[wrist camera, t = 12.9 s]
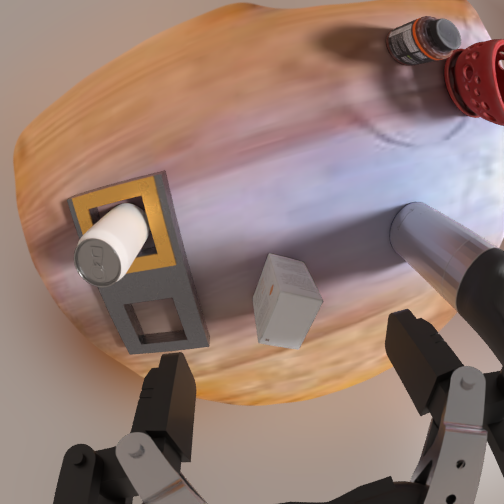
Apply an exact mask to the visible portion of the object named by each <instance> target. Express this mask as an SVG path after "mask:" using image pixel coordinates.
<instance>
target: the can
mask: <svg viewBox="0 0 504 504" xmlns="http://www.w3.org/2000/svg"><path fill="white" fill-rule="evenodd" d="M149 233H150V225H149V222H148V218H147V215H146V213H145V212H144V211H143V210H142V209H141V208H140V207H138V206H136V205H134V204H130V203H124V204H120V205H118V206H116V207H114V208H113V209H112V210H111V211H109V212H108V213H107V214H106V215H105V216H104V217H102V218H101V219H100V220H99V221H98V222H97V223H96V224H94V225H93V226H92V227H91V228H90V229H89V230H88V231H87V232H86V233H85V234H84V235H83V236H82V237H81V238H80V240H79V242H78V245H77V247H76V250H75V253H74V263H75V267H76V269H77V271H78V273H79V275H80V276H81V277H82V278H83V279H84V280H85V281H86V282H88V283H89V284H91V285H93V286H96V287H108V286H111V285H113V284H114V283H115V282H117V281H119V280H120V279H121V278H122V277H123V276H124V275H125V274H126V272H127V271H128V269H129V268H130V266H131V264H132V263H133V261H134V259H135V258H136V256H137V255H138V253H139V251H140V250H141V248H142V246H143V245H144V243H145V241H146V240H147V238H148V236H149Z"/></svg>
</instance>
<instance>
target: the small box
mask: <svg viewBox="0 0 504 504" xmlns="http://www.w3.org/2000/svg"><path fill="white" fill-rule="evenodd" d="M252 299H253V307H254V315H255V322H256V329H257V336H258V343H261V344H266V345H272V346H278V347H285V348H291V349H299V348H300V347H301V345H302V343H303V341H304V339H305V337H306V335H307V333H308V331H309V329H310V327H311V325H312V323H313V321H314V319H315V317H316V315H317V313H318V311H319V309H320V307H321V305H322V303H323V299H322V297H321V295H320V293H319V291H318V289H317V287H316V285H315V283H314V281H313V279H312V277H311V275H310V273H309V271H308V270H307V268H306V266H305V264H304V262H302V261H298V260H294V259H291V258H287V257H283V256H279V255H275V254H271V253H269V254H268V256H267V259H266V262H265V265H264V268H263V271H262V273H261V276H260V279H259V282H258V285H257V287H256V290H255V293H254V296H253V298H252Z"/></svg>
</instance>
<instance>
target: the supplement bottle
mask: <svg viewBox="0 0 504 504" xmlns="http://www.w3.org/2000/svg"><path fill="white" fill-rule="evenodd" d="M386 44H387V48H388V50H389V52H390V54H391V56H392V57H393V58H394V59H395V60H396V61H398V62H399V63H401V64H403V65H416V64H421V63H426V62H432V61H438V60H443V59H446V58H448V57H450V56H451V54H452V53H453V50H455V49H458V48H459V47H460V45H461V37H460V33H459V31H458V29H457V28H456V27H455V25H454V24H453V23H452V22H450V21H449V20H447V19H436V18H434V17H430V16H425V17H421V18H419V19H416V20H414V21H411V22H409V23H407V24H405V25H402V26H400V27H398V28H395V29H394V30H392V31H390V32H389V34H388V36H387V39H386Z"/></svg>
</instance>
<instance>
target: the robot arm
mask: <svg viewBox="0 0 504 504" xmlns="http://www.w3.org/2000/svg"><path fill="white" fill-rule="evenodd" d="M390 241H391V245H392V247H393V249H394V250H395V251H396V252H397V253H398V254H399V255H400V256H401V257H402V258H403V259H404V260H405V261H406V262H407V263H408V264H409V265H410V266H412V267H413V268H414V269H415V270H416V271H417V272H418V273H419V274H420V275H421V276H422V277H423V278H424V279H425V280H426V281H427V282H428V283H429V284H430V285H431V286H432V287H433V288H434V289H435V290H436V291H437V292H438V293H439V294H440V295H441V296H442V297H443V298H444V299H445V300H446V301H447V302H448V303H449V304H450V305H451V306H452V307H453V308H454V309H455V310H456V311H457V312H458V313H459V314H460V315H461V316H462V317H463V318H464V319H465V320H466V321H467V322H468V324H469V325H470V326H471V327H472V328H473V329H474V330H475V331H476V332H477V333H478V335H479V336H480V337H481V338H482V339H483V340H484V341H485V343H486V344H487V345H488V346H489V348H490V349H491V350H492V351H493V353H494V354H495V355H496V357H497V358H498V360H499V361H500V363H501V364H502V366H503V367H502V369H501V371H497V372H491V373H484V374H482V372H481V371H480V370H478V369H476V368H474V367H470V366H464V365H463V364H462V363H461V361H460V360H459V359H458V357H457V356H456V355H455V353H454V352H453V351H452V349H451V348H450V347H449V346H448V345H447V343H446V342H445V341H444V339H443V338H442V337H441V335H440V334H438V332H437V330H436V329H435V328H434V327H433V325H432V324H430V323H429V322H427V321H425V320H424V319H422V318H419V319H416V317H415V316H414V315H413V314H412V312H411V311H410V310H409V309H405V310H401V311H398V312H394V313H391V314H390V315H389V318H388V325H387V333H386V340H385V349H386V353H387V356H388V358H389V359H390V361H391V363H392V365H393V366H394V368H395V370H396V372H397V374H398V375H399V377H400V379H401V381H402V383H403V384H404V386H405V388H406V390H407V392H408V394H409V395H410V397H411V399H412V401H413V403H414V405H415V407H416V409H417V411H418V413H419V414H420V416H422V415H425V414H427V413H429V412H430V413H431V415H432V419H431V422H430V426H429V430H428V433H427V437H426V441H425V444H424V447H423V451H422V454H421V457H420V460H419V463H418V465H417V467H416V469H415V471H414V473H413V475H412V477H411V480H410V482H406V481H401V482H400V481H398V482H393V480H392V477H391V476H389V477H386V478H384V479H381V480H378V481H375V482H372V483H368V484H365V485H363V486H360V487H357V488H356V489H354V490H352V491H350V492H348V493H346V494H344V495H342V496H340V497H338V498H336V499H334V500H332V501H329V502H324V503H307V502H286V503H280V504H474V501H475V497H476V494H477V490H478V486H479V481H480V476H481V472H482V467H483V462H484V455H485V450H486V443H487V442H488V443H489V446H490V448H491V450H492V452H493V454H494V456H495V459H496V461H497V463H498V465H499V468H500V470H501V472H502V474H503V477H504V251H503V250H501V249H499V248H498V247H496V246H495V245H493V244H492V243H490V242H489V241H487V240H486V239H484V238H482V237H481V236H479V235H478V234H476V233H474V232H473V231H471V230H470V229H468V228H466V227H465V226H463V225H461V224H460V223H458V222H456V221H455V220H453V219H451V218H450V217H448V216H446V215H444V214H443V213H441V212H439V211H437V210H436V209H434V208H432V207H430V206H428V205H426V204H424V203H421V202H415V203H411V204H408V205H406V206H405V207H404V208H402V209H401V210H400V211H399V212H398V214H397V215H396V217H395V218H394V221H393V223H392V226H391V230H390ZM195 401H196V384H195V380H194V377H193V375H192V373H191V370H190V368H189V366H188V363H187V361H186V359H185V356H184V354H183V353H182V352H178V353H169V354H163V355H162V356H161V360H160V364H159V368H152V369H151V370H150V371H149V373H148V374H147V375H146V377H145V378H144V382H143V386H142V391H141V393H140V400H139V401H138V405H137V409H136V413H135V417H134V421H133V425H132V429H131V433H130V434H127V435H125V436H124V437H123V438H122V439H121V440H120V441H119V442H118V444H117V446H115V447H112V448H107V449H103V450H98V451H94V450H93V449H92V448H91V447H90V446H88V445H86V444H77V445H74V446H72V447H71V448H70V449H68V451H67V452H66V454H65V456H64V459H63V463H62V467H61V471H60V475H59V479H58V483H57V488H56V492H55V497H54V502H53V504H132V500H133V497H134V496H140V497H141V499H142V501H143V503H142V504H208V503H207V502H206V501H205V500H204V499H203V498H202V497H201V495H200V494H199V493H198V492H197V491H196V490H195V489H194V487H193V486H192V485H191V484H190V483H189V481H188V480H187V479H186V478H185V476H184V475H183V474H182V473H181V472H180V469H181V462H191V450H192V437H193V423H194V412H195Z"/></svg>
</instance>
